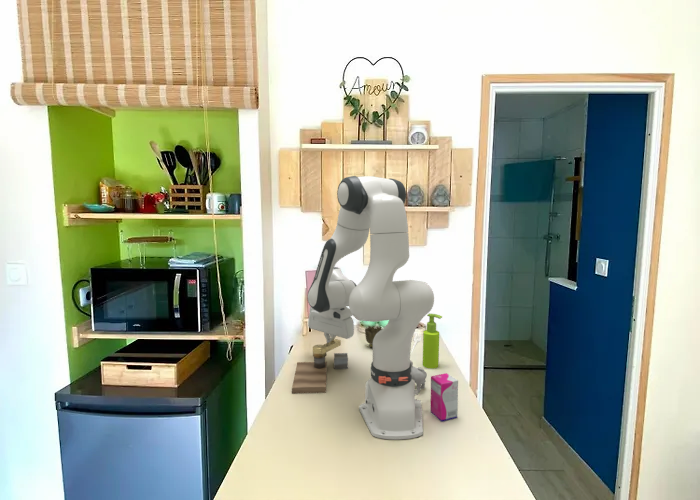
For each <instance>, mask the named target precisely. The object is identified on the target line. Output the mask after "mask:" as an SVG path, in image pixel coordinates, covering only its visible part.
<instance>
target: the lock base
mask: <svg viewBox="0 0 700 500" xmlns="http://www.w3.org/2000/svg"><path fill="white" fill-rule="evenodd" d="M348 359H349V357H348V353H347V352H336V353H335V352H334V353H333V361H334V363H333V365H334V367H333V369H334V370H339V369H340V370H343V369H345V370H346V369H349V362H348V361H349V360H348ZM313 360H314V361H297V362H296V367H295V371H294V375H293V380H292V386H291V394H316V393H317V394H321V393H322V394H325V393H326V394H327V373H328V372H327V371H328V370H327V368H328V362H327V361H326V356H325V357H322V358H316V357H314V356H313Z"/></svg>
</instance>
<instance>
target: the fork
mask: <svg viewBox="0 0 700 500" xmlns="http://www.w3.org/2000/svg"><path fill="white" fill-rule="evenodd" d="M412 341H414V343H413V346H412V347H411V351H410V354H413V352H414V350H415V348H416V346H417V343H418V342H419V343H420V342H421V341H422V334H419V333H416V334H415V335H414V336H413V339H412Z"/></svg>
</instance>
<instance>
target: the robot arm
mask: <svg viewBox="0 0 700 500" xmlns="http://www.w3.org/2000/svg"><path fill="white" fill-rule="evenodd" d="M336 193H337V194H336V195H337V196H336V197H337V201H338V204H339V205H340V207H339V212H338V216H337V223H336V227H335V229H334V231H333V234H332V235H331V237H330V238H329V239H328V240H326V241H325V243H324V245H323V247H322V251H321V254H320V257H319V261H318V263H317V267H316V270H315V273H314V274H315V275H314V277H313V279H312V282H311V285H310V287H309V289H308V292H307V303H308V305H309V307H310V308H309V314H308V321H307V325H308V328H309V329H310V330H313V331H318V332H321V333H323V335H324V337H325V340H326V343H328V342H330V341H333V340H335V339H336V337H338V338H341V339H346V340H348V339H350V338H352V337H353V336H354V334H355V325H354V324H355V323H354V318H355V319H356V320H357V321H362V322H369V323H370V322H372V323H373V322H376V323H377V322H382V321H384V322H385V321H388V322H387V324H385V326H384V327H383V328H381V329H382V330H380V331H379V332H378V333H377V334H376V335H375V337H374V339H373V348H372V361H371V364H370V377H369V379H368V380H367V381H366V382H365V394H364V395H365V398H364V399H365V400H364V402H363V403H361V404H360V405H359V407H358V410H359V412H360V415H361V416H362V418H363V420H364V422H365V424H366V427H367V428H368V430H369V432H370V434H371V435H372V436H373V437H375V438H378V439H384V440H408V439H410V440H411V439H414V438H417V437H421V436H423V435H424V423H423V421H424V420H423V407H422V406H423V405H422V402H421V401H422V400H421V399H416V397H415V395H418V394H419V393H418V390H416V389H415V388H416V387H415V386H416V383H415V381H414V380H413V379H412V368H411V364H410V360H411V350H412V341H413V338H414V334H415V331H416V329H417V327H418V325H419V323H420V322H421V321H422V320H423V318H424V317H426V316H427V315H428V314H430V312H431V311H432V309H433V307H434V305H435V294H434V291H433V289H432V288H431V286H430V285H429V284H428V283H427V282H425V281H422V280H421V281H420V280H413V279H409V280H408V279H405V280H397V281H396V280H394V281H393V279H394V276H395V274H396V272H397V271H398V270H399V269H400V268H402V267H403V266H405V265H406V264H407V263H408V261H409V258H410V244H409V243H410V242H409V241H410V240H409V224H408V217H407V216H408V215H407V212H406V209H405V208H406V207H405V202H406V200H407V190H406V187H405V184H404V183H403V182H402V181H400V180H399V179H398V180H397V179H395V178H385V177H377V176H374V175H369V176H368V175H364V176H356V175H351V176H347V177H343V178H342V179H341V180H340V182H339V185H338V187H337V192H336ZM369 234H370V235H369ZM369 236H370V237H369ZM368 237H369V239H370V240H369V242H370V244H369V245H370V247H369V248H370V249H369V262H368V263H369V264H368V267H367V270H366V271H365V272H366V273H365V274H364V276H363V278H362V279H361V281H360V282H359V283H358V284H356V283H355V282H354V281H353V280H351V279H349V278H348V277H346V276H345V275H344V274H343V273H342V269H341V268H340V267H338V266H337V267H335V266H336V264H338V263H339V261H340V260H341V259H343V258H344V257H346V256H348V255H350V254H352V253H354V252H357V251H358V250H360V249H361V248H362V247H364V246H365V244H366V243H367V242H368ZM353 317H354V318H353Z"/></svg>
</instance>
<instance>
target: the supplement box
mask: <svg viewBox="0 0 700 500" xmlns="http://www.w3.org/2000/svg"><path fill="white" fill-rule="evenodd" d="M458 394H459V380H458V379H457V378H455V377H453V376H452V375H451V374H449V373H447V372H445V373H440V374H436V375H435V374H434V375H431V376H430V413H431V414H432V415H433V416H434V417H435V418H436V419H437V420H439V421H440V423H444V422H446V421H450V420H454V419H458V415H459V414H458V412H459V411H458V409H459V405H458V404H459V403H458V402H459V401H458V399H459V398H458V397H459V395H458Z"/></svg>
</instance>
